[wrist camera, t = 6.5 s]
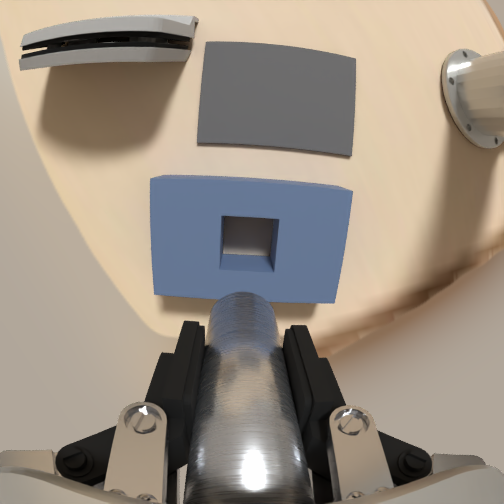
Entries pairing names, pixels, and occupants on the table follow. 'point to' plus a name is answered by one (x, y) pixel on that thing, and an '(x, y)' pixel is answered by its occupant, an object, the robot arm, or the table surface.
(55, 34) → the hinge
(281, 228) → the hole block
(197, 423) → the peg
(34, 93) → the table surface
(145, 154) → the table surface
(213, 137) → the mat
